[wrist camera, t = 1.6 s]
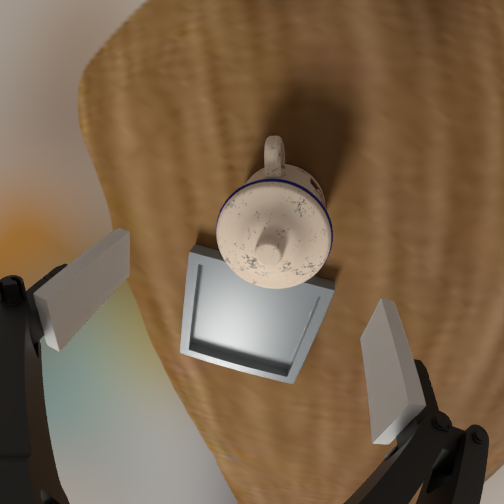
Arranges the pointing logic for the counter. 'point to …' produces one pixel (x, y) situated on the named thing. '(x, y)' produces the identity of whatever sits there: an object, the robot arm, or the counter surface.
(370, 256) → the counter surface
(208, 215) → the counter surface
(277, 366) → the cup tray
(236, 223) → the teacup with lid
